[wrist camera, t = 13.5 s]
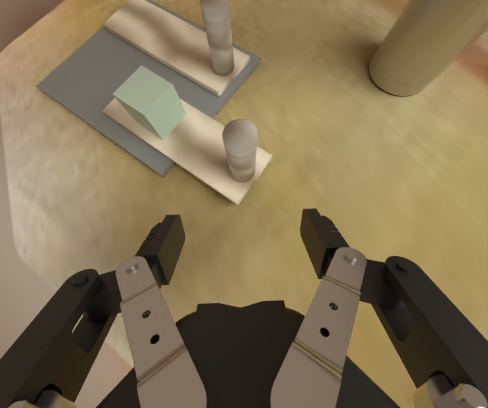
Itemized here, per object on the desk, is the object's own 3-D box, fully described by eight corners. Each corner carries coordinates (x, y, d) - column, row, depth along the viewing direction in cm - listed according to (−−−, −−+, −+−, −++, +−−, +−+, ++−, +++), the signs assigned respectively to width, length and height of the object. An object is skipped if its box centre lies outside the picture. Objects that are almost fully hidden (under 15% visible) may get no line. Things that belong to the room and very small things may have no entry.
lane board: (142, -1, 35) (139, -6, 34) (259, 63, 31) (260, 58, 30) (41, 90, 31) (36, 86, 30) (163, 177, 27) (160, 175, 26)
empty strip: (137, 0, 34) (100, -84, 25) (249, 61, 30) (250, -14, 22) (105, 29, 32) (54, -50, 24) (219, 96, 29) (206, 31, 20)
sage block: (160, 97, 28) (141, 65, 23) (186, 114, 27) (173, 84, 22) (136, 122, 27) (112, 94, 22) (163, 140, 26) (144, 115, 21)
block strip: (142, 78, 30) (99, 8, 21) (271, 158, 26) (283, 113, 18) (105, 114, 28) (44, 56, 20) (237, 205, 25) (231, 181, 16)
